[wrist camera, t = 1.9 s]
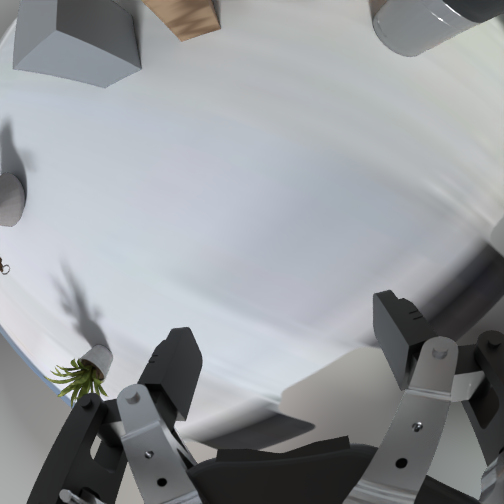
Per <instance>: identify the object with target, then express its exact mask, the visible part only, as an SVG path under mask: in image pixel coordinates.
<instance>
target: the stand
mask: <svg viewBox="0 0 504 504" xmlns="http://www.w3.org/2000/svg"><path fill="white" fill-rule="evenodd" d="M141 1H142V2H143V3H144V4H145V5H146V6H147V7H149V8H150V9H151V10H152V11H153V12H154V13H155V14H156V15H157V16H158V17H159V18H160V20H161V21H162V22H163V23H164V24H165V25H166V26H167V27H168V28H169V29H170V30H171V31H172V32H173V33H174V34H175V35H176V36H177V37H178V38H179V40H180V41H181V42H182V41H185V40H188V39H191V38H194V37H197V36H200V35H203V34H206V33H209V32H212V31H216V30H219V29H221V28H220V25H219V22H218V18H217V15H216V12H215V9H214V6H213V3H212V0H141Z"/></svg>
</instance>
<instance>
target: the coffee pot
mask: <svg viewBox="0 0 504 504" xmlns="http://www.w3.org/2000/svg"><path fill="white" fill-rule="evenodd" d="M24 206H25V193H24V189H23V186H22V184H21V182H20V181H19V180H18V179H17V177H15V176H14V175H13V174H10V173H3V174H2V175H1V176H0V225H1V226H8V227H12V226H14V225H16V224H17V222H18V221H19V220H20V218H21V216H22V213H23V209H24ZM1 262H2V259H1V258H0V271H1V272H3V268H4V267H5V266H8V267H9V265H4V266H3V265H2V263H1ZM9 271H10V267H9ZM9 271H8V272H7V273H5V274H4V273H2V274H3V275H6V274H8V273H9Z"/></svg>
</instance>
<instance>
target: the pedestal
mask: <svg viewBox="0 0 504 504" xmlns="http://www.w3.org/2000/svg"><path fill="white" fill-rule="evenodd" d="M13 69H14V70H22V71H28V72H35V73H40V74H46V75H51V76H56V77H61V78H65V79H70V80H74V81H79V82H83V83H87V84H91V85H94V86H98V87H102V88H106V87H108V86H110V85H112V84H113V83H115V82H117V81H119V80H121V79H123V78H125V77H127V76H129V75H131V74H133V73H135V72H137V71H139V70H141V64H140V59H139V54H138V49H137V43H136V37H135V32H134V26H133V19H132V16H131V15H130V14H129V13H128V12H126V11H125V10H124V9H123V8H121V7H120V6H119V5H117V4H116V3H115V2H113V1H112V0H22V1H21V2H20V7H19V12H18V17H17V24H16V31H15V40H14V53H13Z"/></svg>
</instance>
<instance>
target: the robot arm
mask: <svg viewBox="0 0 504 504" xmlns="http://www.w3.org/2000/svg"><path fill="white" fill-rule="evenodd" d="M503 13H504V0H387V2H386V3H385V4H384V5H383V6H382V7H381V9H380V10H379V11H378V12H377V13H376V15H375V16H374V19H373V26H374V30H375V32H376V34H377V36H378V37H379V39H380V40H381V41H382V42H383V43H384V44H385V45H386V46H387V47H388V48H389V49H391V50H392V51H394V52H396V53H398V54H400V55H403V56H407V57H413V56H417V55H419V54H421V53H423V52H424V51H426V50H429V49H431V48H433V47H435V46H437V45H439V44H440V43H442V42H444V41H446V40H448V39H450V38H452V37H454V36H456V35H458V34H460V33H462V32H464V31H466V30H468V29H470V28H472V27H474V26H476V25H478V24H481V23H483V22H485V21H487V20H489V19H492V18H494V17H496V16H498V15H500V14H503ZM373 327H374V332H375V336H376V338H377V340H378V342H379V344H380V346H381V348H382V350H383V352H384V355H385V357H386V359H387V361H388V363H389V365H390V368H391V370H392V372H393V374H394V376H395V378H396V381H397V383H398V385H399V388H400V390H401V391H402V390H405V389H406V391H405V393H404V395H403V398H402V400H401V403H400V405H399V407H398V409H397V412H396V414H395V416H394V419H393V420H392V423H391V425H390V427H389V429H388V431H387V433H386V435H385V437H384V439H383V441H382V443H381V445H380V447H379V448H377V447H374V446H370V445H365V444H356V443H355V444H354V443H349V438H348V436H344V437H339V438H334V439H329V440H324V441H318V442H314V443H311V444H309V445H306V446H303V447H300V448H297V449H295V450H291V451H289V452H285V453H272V452H265V451H258V450H252V449H218V451H217V457H216V458H212V459H209V460H206V461H203V462H201V463H199V464H198V463H197V462H196V461H195V460H194V458H193V457H192V455H191V453H190V452H189V450H188V449H187V447H186V445H185V443H184V442H183V440H182V438H181V437H180V435H179V433H178V431H177V429H176V428H175V427H174V424H175V421H186V419H187V415H188V412H189V409H190V405H191V402H192V398H193V395H194V392H195V388H196V385H197V381H198V378H199V375H200V371H201V368H202V355H201V352H200V350H199V347H198V345H197V343H196V341H195V338H194V336H193V334H192V331H191V329H190V328H189V327H183V328H174V329H171V331H170V333H169V335H168V337H167V339H166V340H163V341H162V342H161V343H160V344H159V345H158V346H157V347H156V348H155V350H154V352H153V354H152V357H151V358H150V360H149V361H148V362H149V363H147V365H146V367H145V369H144V371H143V373H142V375H141V377H140V379H139V381H138V383H137V384H133V385H130V386H128V387H126V388H124V389H123V390H122V391H121V392H120V393H119V395H118V397H117V399H113V400H107V401H103V400H102V399H101V397H100V396H99V395H98V394H96V393H88V394H85V395H84V396H82V397H81V398H80V399H79V400H78V401H77V402H76V404H75V406H74V407H73V409H72V411H71V413H70V415H69V417H68V418H67V420H66V422H65V424H64V425H63V427H62V429H61V431H60V433H59V435H58V437H57V439H56V441H55V443H54V444H53V446H52V448H51V451H50V452H49V454H48V457H47V459H46V461H45V463H44V465H43V467H42V469H41V471H40V473H39V476H38V478H37V480H36V482H35V484H34V487H33V489H32V491H31V494H30V496H29V499H28V501H27V504H115V501H116V498H117V494H118V491H119V487H120V484H121V481H122V478H123V475H124V471H125V468H126V465H127V462H129V465H130V468H131V471H132V473H133V476H134V479H135V481H136V484H137V486H138V489H139V491H140V493H141V496H142V498H143V500H144V504H504V335H503V334H502V333H500V332H498V331H492V330H491V331H486V332H484V333H482V334H481V335H480V336H479V338H478V341H477V344H473V345H466V346H457V345H456V343H455V342H454V341H453V340H451V339H449V338H446V337H439V336H438V335H437V333H436V332H435V331H434V329H433V328H432V327H431V325H430V324H429V323H428V322H427V320H426V319H425V318H424V317H423V315H422V314H421V313H420V311H418V309H417V308H416V306H415V305H414V304H413V303H412V302H410V301H408V300H406V299H405V298H402V299H398V298H397V297H396V296H395V294H394V293H393V292H392V291H391V290H387V291H383V292H379V293H375V294H374V295H373ZM457 401H461V402H462V404H463V407H464V409H465V411H466V413H467V415H468V418H469V420H470V422H471V424H472V427H473V429H474V432H475V434H476V437H477V439H478V442H479V444H480V447H481V450H482V452H483V455H484V458H485V461H486V464H487V468H486V469H485V471H484V473H483V475H482V478H481V495H480V498H479V500H477V499H475V498H473V497H471V496H469V495H466V494H464V493H462V492H460V491H458V490H456V489H454V488H451V487H449V486H447V485H445V484H443V483H441V482H439V481H437V480H436V479H434V478H432V477H430V476H428V475H426V474H427V472H428V469H429V467H430V465H431V462H432V460H433V457H434V454H435V452H436V449H437V446H438V443H439V441H440V438H441V434H442V431H443V428H444V425H445V422H446V418H447V414H448V411H449V407H450V403H451V402H457ZM96 435H97V436H98V437H99V438H100V439H101V440H102V441H101V443H100V446H99V448H98V451H97V453H96V456H95V458H94V460H93V459H92V457H91V455H90V449H91V446H92V444H93V441H94V439H95V437H96Z"/></svg>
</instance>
